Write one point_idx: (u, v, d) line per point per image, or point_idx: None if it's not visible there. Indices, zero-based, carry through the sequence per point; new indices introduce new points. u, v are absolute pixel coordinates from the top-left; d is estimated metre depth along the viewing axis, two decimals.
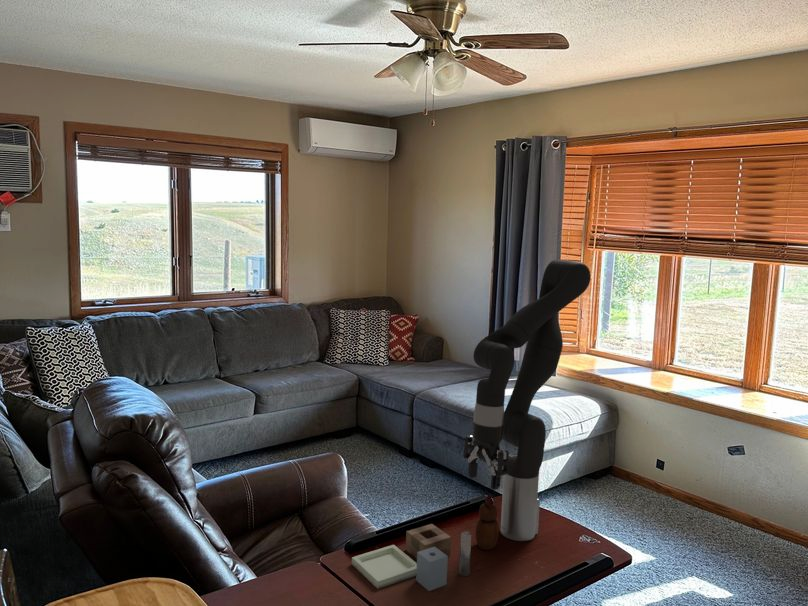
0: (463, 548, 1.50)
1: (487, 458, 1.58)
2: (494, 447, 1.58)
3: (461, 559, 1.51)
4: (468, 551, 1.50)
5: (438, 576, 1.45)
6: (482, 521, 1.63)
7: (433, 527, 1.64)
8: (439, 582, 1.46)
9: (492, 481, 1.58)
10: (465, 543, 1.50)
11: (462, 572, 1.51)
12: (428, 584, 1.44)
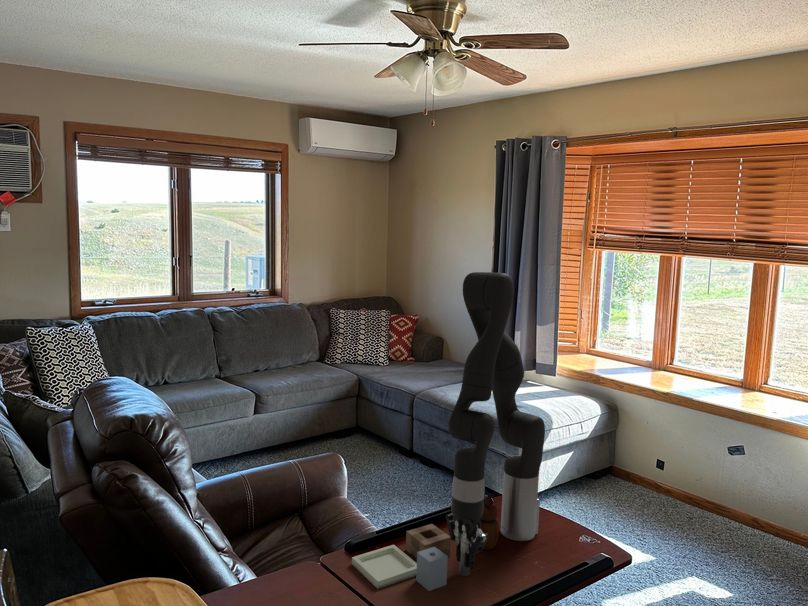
0: (463, 548, 1.50)
1: (465, 535, 1.48)
2: (475, 526, 1.46)
3: (461, 559, 1.51)
4: None
5: (438, 576, 1.45)
6: (482, 521, 1.63)
7: (433, 527, 1.64)
8: (439, 582, 1.46)
9: (465, 559, 1.50)
10: None
11: (462, 572, 1.51)
12: (428, 584, 1.44)
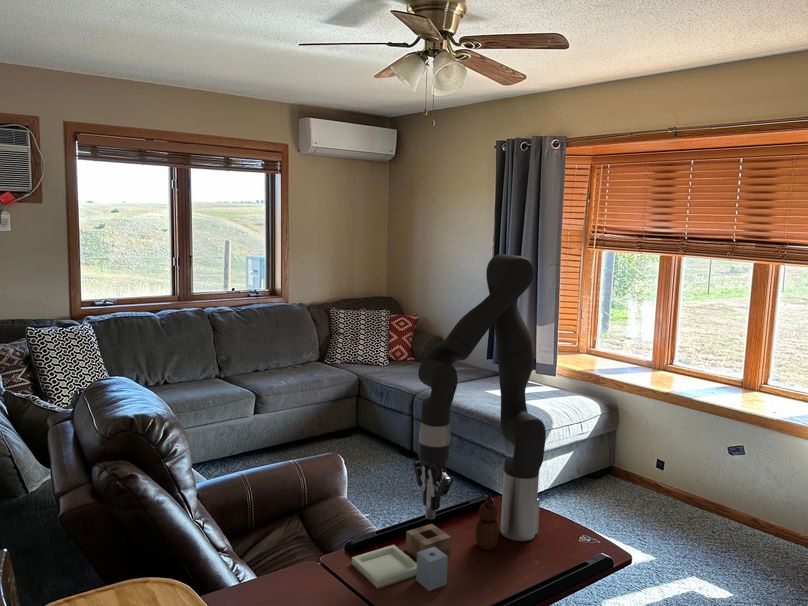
0: (429, 492, 1.57)
1: (431, 479, 1.55)
2: (441, 470, 1.53)
3: (427, 503, 1.57)
4: None
5: (438, 576, 1.45)
6: (482, 521, 1.63)
7: (433, 527, 1.64)
8: (439, 582, 1.46)
9: (431, 502, 1.56)
10: None
11: (428, 515, 1.58)
12: (428, 584, 1.44)
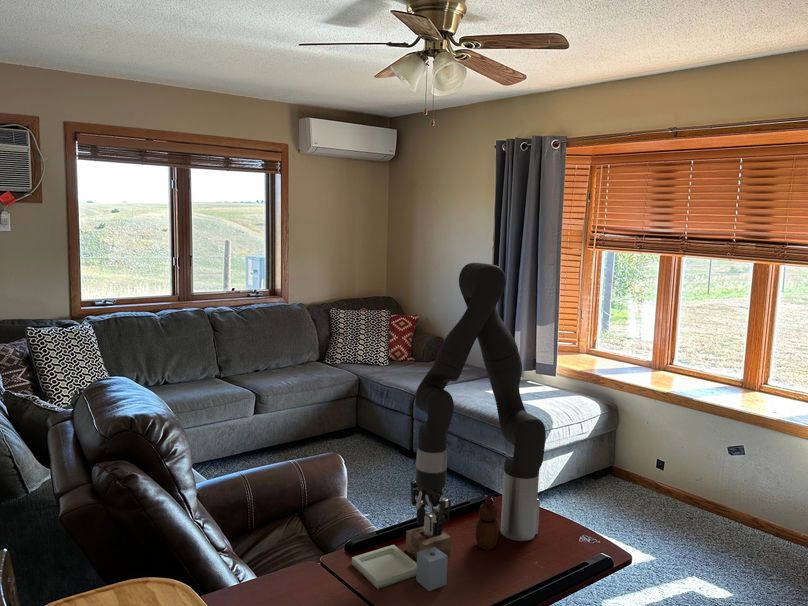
0: (426, 529, 1.59)
1: (429, 504, 1.56)
2: (437, 494, 1.55)
3: None
4: (431, 531, 1.59)
5: (438, 576, 1.45)
6: (482, 521, 1.63)
7: None
8: (439, 582, 1.46)
9: (434, 528, 1.56)
10: (428, 524, 1.58)
11: None
12: (428, 584, 1.44)
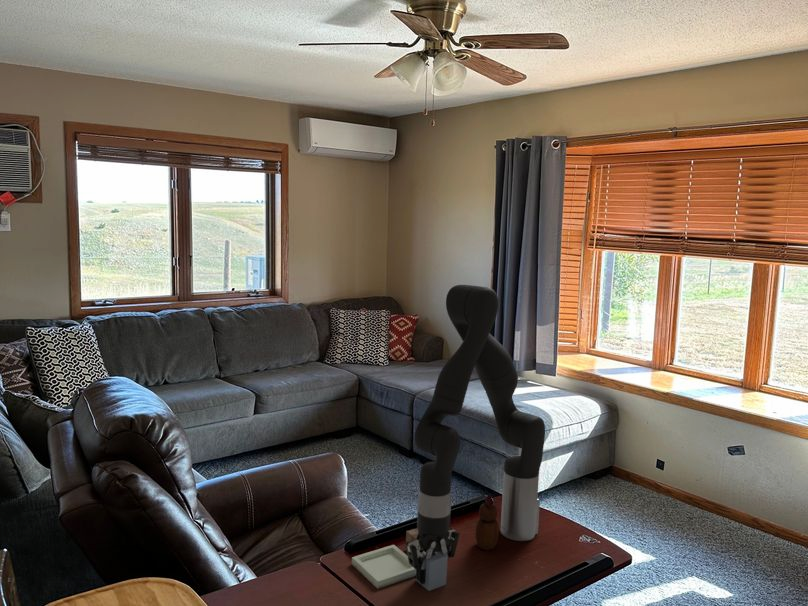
0: None
1: None
2: None
3: None
4: None
5: (438, 576, 1.45)
6: (482, 521, 1.63)
7: None
8: (439, 582, 1.46)
9: None
10: None
11: None
12: (428, 584, 1.44)
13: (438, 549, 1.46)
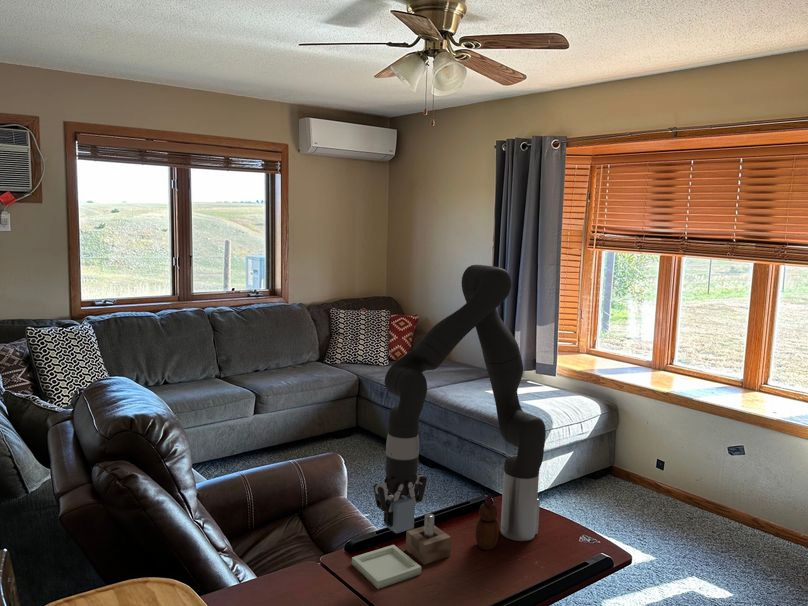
0: (426, 529, 1.59)
1: None
2: None
3: None
4: (431, 532, 1.59)
5: (405, 519, 1.47)
6: (482, 521, 1.63)
7: None
8: (406, 525, 1.47)
9: None
10: (428, 524, 1.58)
11: None
12: (395, 526, 1.46)
13: (406, 493, 1.48)
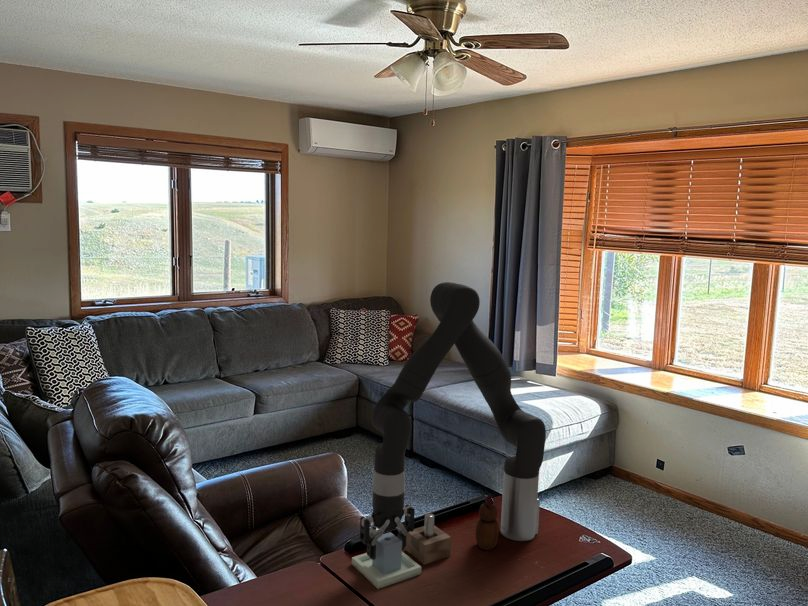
0: (426, 529, 1.59)
1: None
2: (372, 513, 1.49)
3: None
4: (431, 532, 1.59)
5: (392, 560, 1.50)
6: (482, 521, 1.63)
7: None
8: (394, 566, 1.51)
9: None
10: (428, 524, 1.58)
11: None
12: (383, 568, 1.49)
13: (395, 527, 1.51)
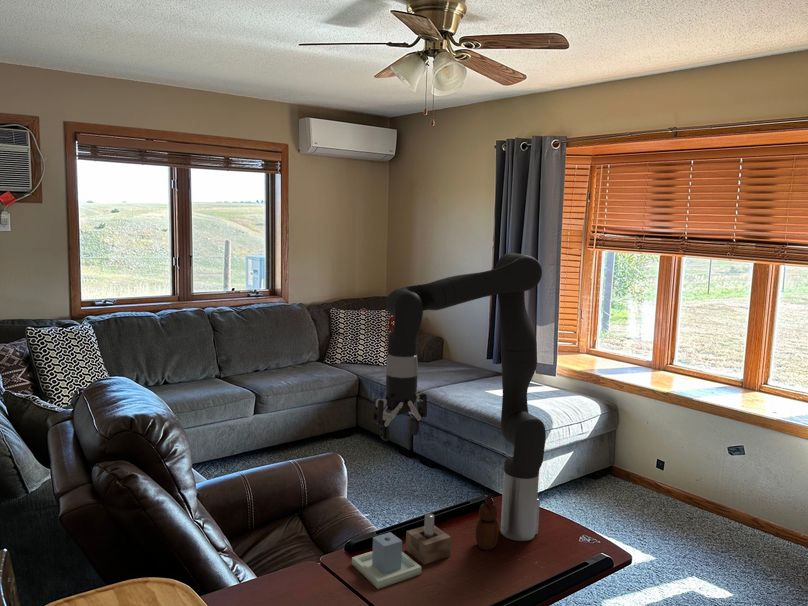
0: (426, 529, 1.59)
1: None
2: (386, 396, 1.53)
3: None
4: (431, 532, 1.59)
5: (392, 560, 1.50)
6: (482, 521, 1.63)
7: None
8: (394, 566, 1.51)
9: None
10: (428, 524, 1.58)
11: None
12: (383, 568, 1.49)
13: (408, 411, 1.55)
